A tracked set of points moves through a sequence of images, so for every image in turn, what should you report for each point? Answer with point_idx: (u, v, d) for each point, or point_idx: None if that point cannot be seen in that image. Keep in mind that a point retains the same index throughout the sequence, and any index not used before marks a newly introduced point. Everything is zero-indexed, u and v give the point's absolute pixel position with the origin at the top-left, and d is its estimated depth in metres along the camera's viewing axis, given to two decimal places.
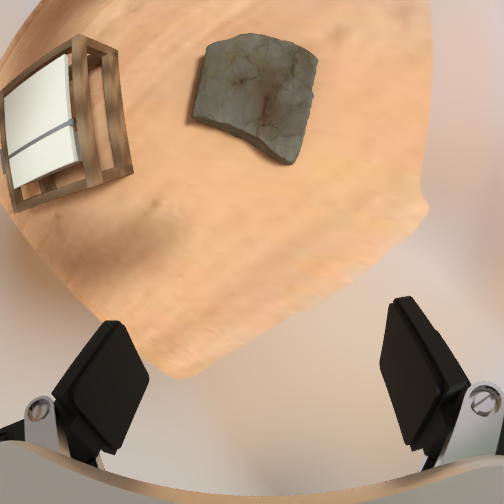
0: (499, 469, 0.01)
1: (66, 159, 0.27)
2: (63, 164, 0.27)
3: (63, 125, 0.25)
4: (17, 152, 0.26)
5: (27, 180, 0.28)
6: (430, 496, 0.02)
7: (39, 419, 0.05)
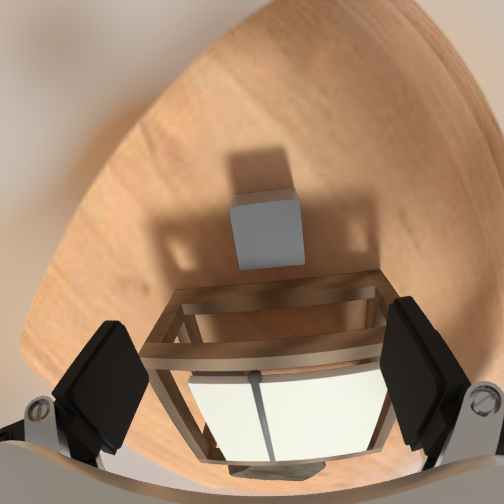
0: (499, 469, 0.01)
1: (229, 456, 0.23)
2: (224, 453, 0.23)
3: (271, 458, 0.23)
4: (258, 405, 0.19)
5: (204, 413, 0.20)
6: (430, 496, 0.02)
7: (39, 419, 0.05)
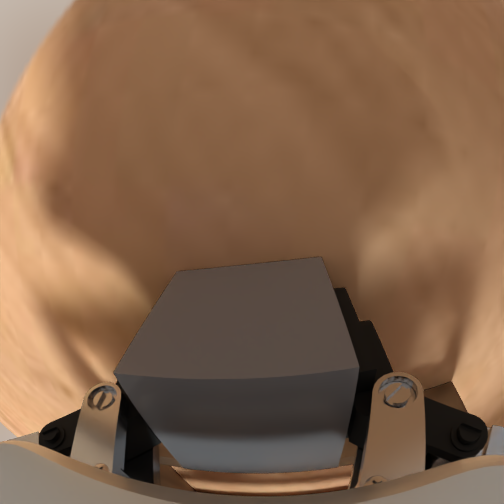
0: (499, 469, 0.01)
1: None
2: None
3: None
4: None
5: None
6: (430, 496, 0.02)
7: (100, 407, 0.06)
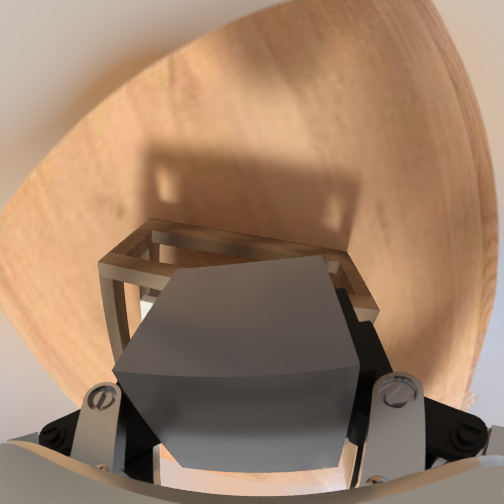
0: (499, 469, 0.01)
1: None
2: None
3: None
4: None
5: None
6: (430, 496, 0.02)
7: (100, 407, 0.06)
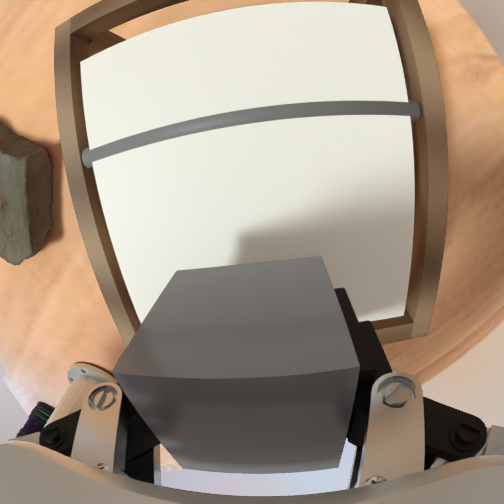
0: (499, 469, 0.01)
1: (101, 62, 0.09)
2: (113, 48, 0.09)
3: (104, 150, 0.10)
4: (350, 104, 0.09)
5: (298, 6, 0.08)
6: (430, 496, 0.02)
7: (100, 407, 0.06)
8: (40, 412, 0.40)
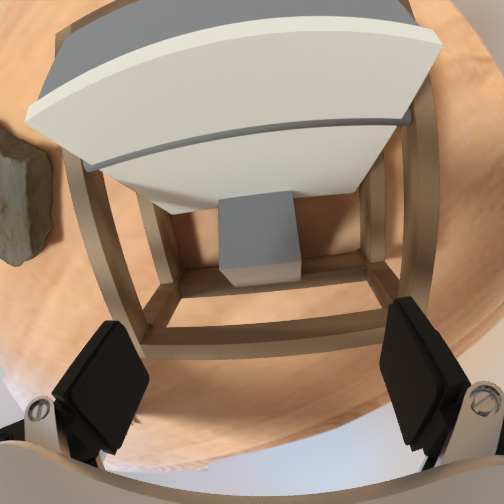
0: (499, 469, 0.01)
1: (54, 117, 0.07)
2: (61, 103, 0.06)
3: (108, 163, 0.11)
4: (343, 121, 0.10)
5: (319, 37, 0.06)
6: (430, 496, 0.02)
7: (39, 419, 0.05)
8: None
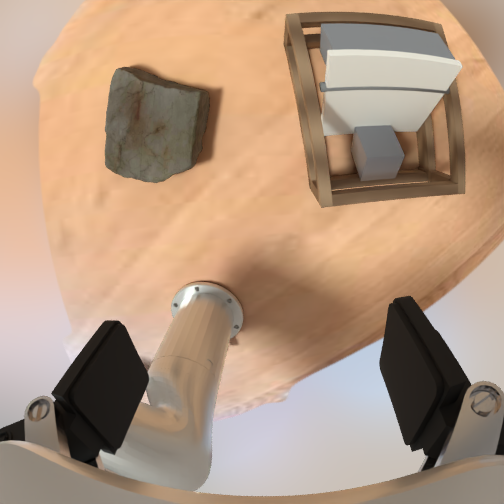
0: (499, 469, 0.01)
1: (343, 60, 0.18)
2: (352, 56, 0.17)
3: (335, 89, 0.22)
4: (427, 90, 0.21)
5: (431, 62, 0.16)
6: (430, 496, 0.02)
7: (39, 419, 0.05)
8: None
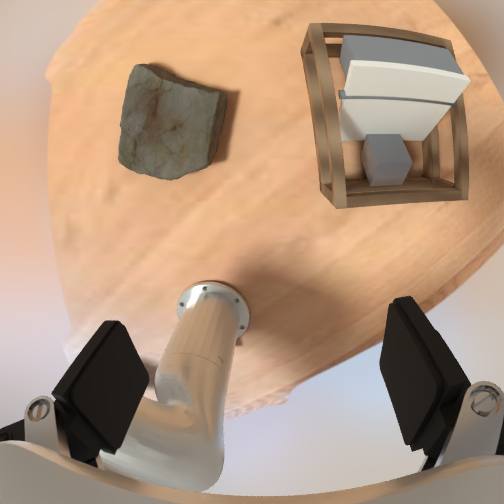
0: (499, 469, 0.01)
1: (365, 70, 0.19)
2: (373, 67, 0.19)
3: (353, 97, 0.24)
4: (436, 102, 0.22)
5: (442, 76, 0.18)
6: (430, 496, 0.02)
7: (39, 419, 0.05)
8: None
